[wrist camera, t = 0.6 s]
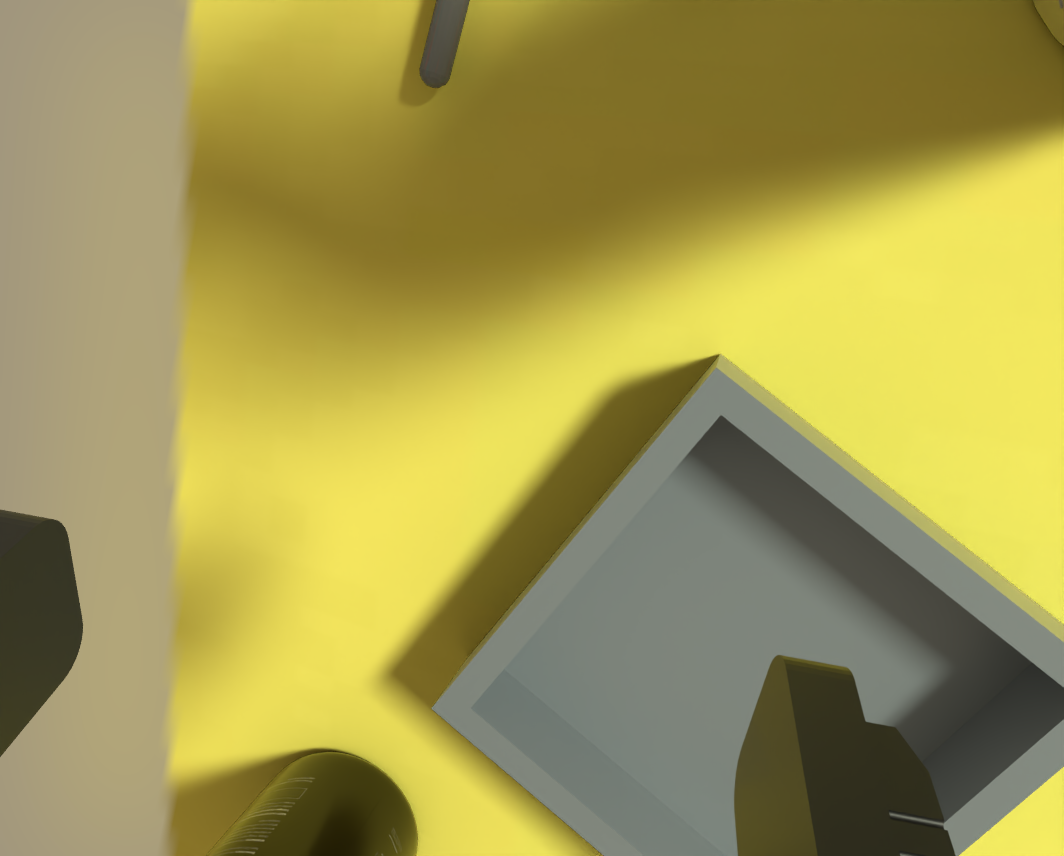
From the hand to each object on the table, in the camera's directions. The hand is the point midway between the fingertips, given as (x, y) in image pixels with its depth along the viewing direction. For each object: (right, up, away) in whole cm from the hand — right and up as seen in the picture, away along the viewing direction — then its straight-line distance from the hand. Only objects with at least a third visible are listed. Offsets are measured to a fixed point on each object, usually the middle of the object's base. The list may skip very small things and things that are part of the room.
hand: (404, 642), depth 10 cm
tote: (+9, -6, +21) cm, 24 cm away
